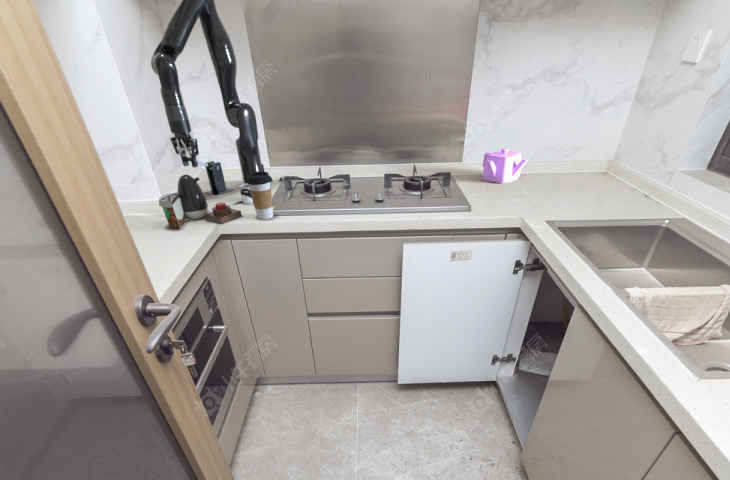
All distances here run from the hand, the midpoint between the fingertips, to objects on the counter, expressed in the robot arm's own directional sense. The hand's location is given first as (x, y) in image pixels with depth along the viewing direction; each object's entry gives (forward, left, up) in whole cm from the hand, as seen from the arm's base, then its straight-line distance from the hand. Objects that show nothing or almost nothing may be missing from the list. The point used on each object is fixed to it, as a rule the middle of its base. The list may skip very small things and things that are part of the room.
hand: (190, 166), depth 173 cm
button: (+12, +29, -10) cm, 33 cm away
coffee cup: (+3, +42, -14) cm, 44 cm away
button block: (+12, +29, -14) cm, 34 cm away
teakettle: (-86, +102, -14) cm, 134 cm away
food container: (+26, +19, -14) cm, 35 cm away
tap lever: (-5, 0, -1) cm, 5 cm away
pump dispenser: (+16, +18, -14) cm, 28 cm away
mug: (-9, +24, -14) cm, 29 cm away
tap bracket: (-11, 0, -14) cm, 17 cm away
